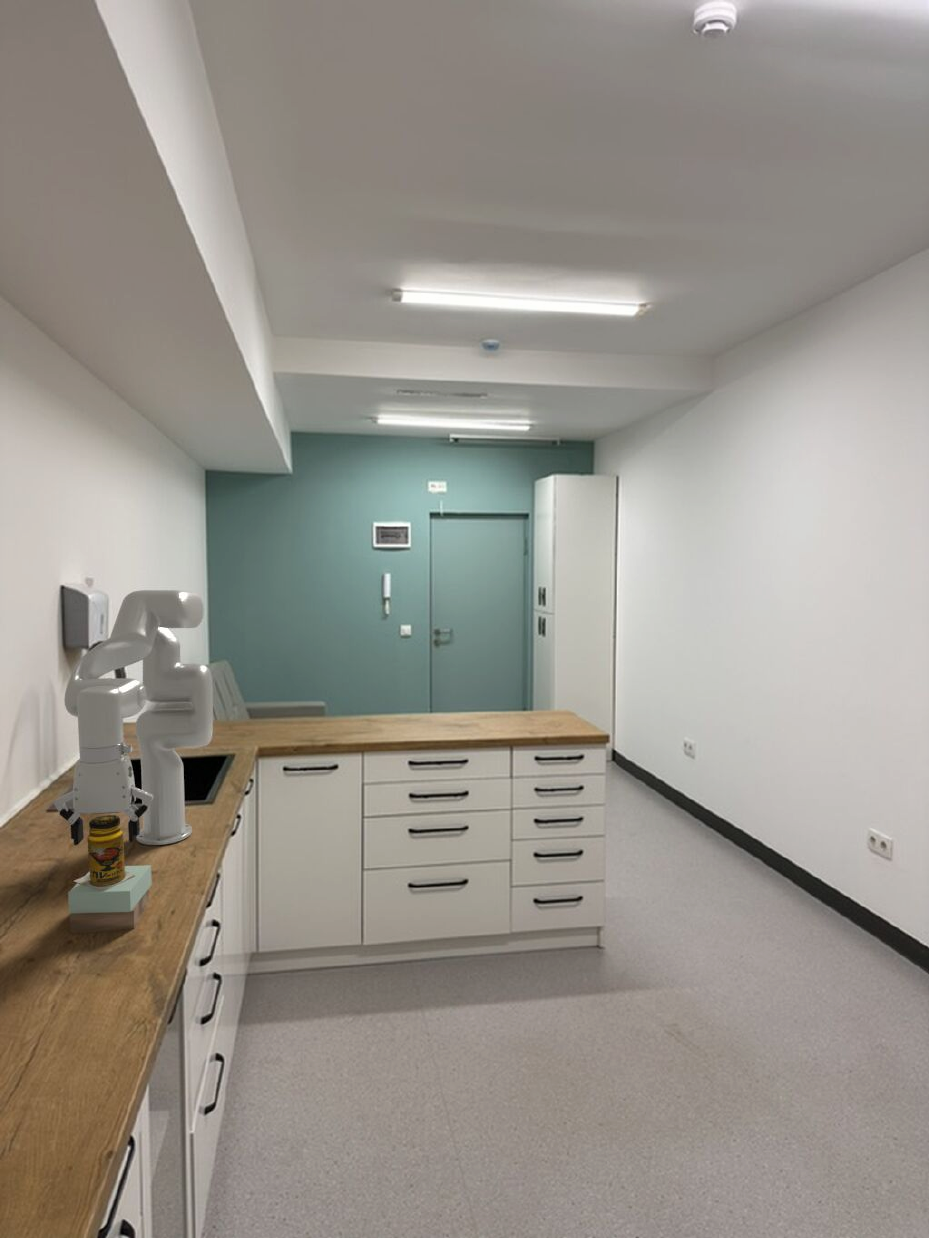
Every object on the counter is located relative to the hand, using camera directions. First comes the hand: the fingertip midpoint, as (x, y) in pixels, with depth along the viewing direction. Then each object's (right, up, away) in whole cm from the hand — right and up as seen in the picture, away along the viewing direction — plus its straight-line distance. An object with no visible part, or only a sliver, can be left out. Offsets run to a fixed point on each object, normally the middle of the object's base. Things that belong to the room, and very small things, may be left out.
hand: (106, 840), depth 138 cm
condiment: (-1, -8, +2) cm, 8 cm away
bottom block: (0, -16, +2) cm, 16 cm away
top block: (0, -12, +2) cm, 12 cm away
